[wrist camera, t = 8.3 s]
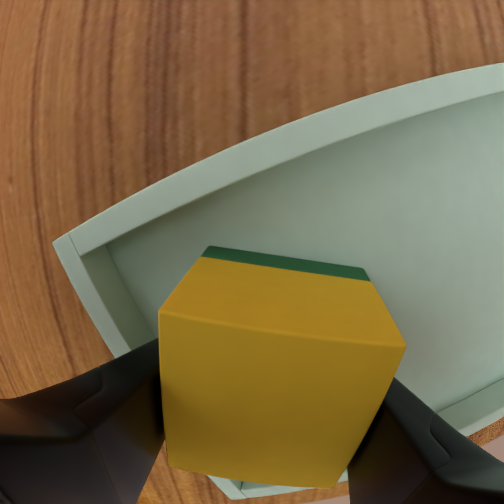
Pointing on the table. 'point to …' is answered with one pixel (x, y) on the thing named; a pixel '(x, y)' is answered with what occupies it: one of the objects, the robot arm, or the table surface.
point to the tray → (338, 232)
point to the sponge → (272, 367)
